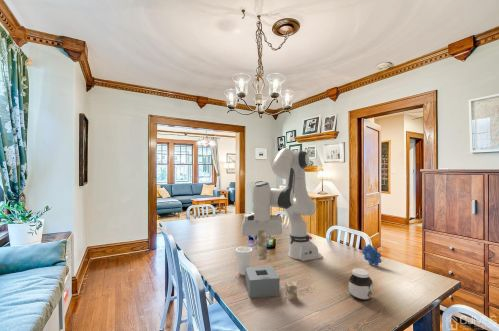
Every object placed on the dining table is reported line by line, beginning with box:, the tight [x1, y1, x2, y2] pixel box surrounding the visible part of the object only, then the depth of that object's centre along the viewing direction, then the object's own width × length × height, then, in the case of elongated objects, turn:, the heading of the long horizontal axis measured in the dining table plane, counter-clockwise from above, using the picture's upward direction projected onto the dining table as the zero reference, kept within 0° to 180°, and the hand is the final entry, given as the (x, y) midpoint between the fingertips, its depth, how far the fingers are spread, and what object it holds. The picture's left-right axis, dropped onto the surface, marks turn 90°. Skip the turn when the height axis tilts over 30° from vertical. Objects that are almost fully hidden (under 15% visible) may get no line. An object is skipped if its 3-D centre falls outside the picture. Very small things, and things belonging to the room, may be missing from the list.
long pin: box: [256, 230, 268, 261], centre depth 116 cm, size 4×4×14 cm
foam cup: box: [235, 246, 253, 276], centre depth 134 cm, size 10×9×13 cm
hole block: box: [244, 265, 281, 299], centre depth 115 cm, size 14×14×8 cm
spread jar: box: [348, 267, 374, 302], centre depth 111 cm, size 12×11×12 cm
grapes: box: [361, 243, 382, 267], centre depth 145 cm, size 12×7×12 cm, turn 38°
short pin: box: [285, 281, 298, 301], centre depth 108 cm, size 4×4×6 cm
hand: (261, 243), depth 116 cm, fingers closed on long pin, 4 cm apart
